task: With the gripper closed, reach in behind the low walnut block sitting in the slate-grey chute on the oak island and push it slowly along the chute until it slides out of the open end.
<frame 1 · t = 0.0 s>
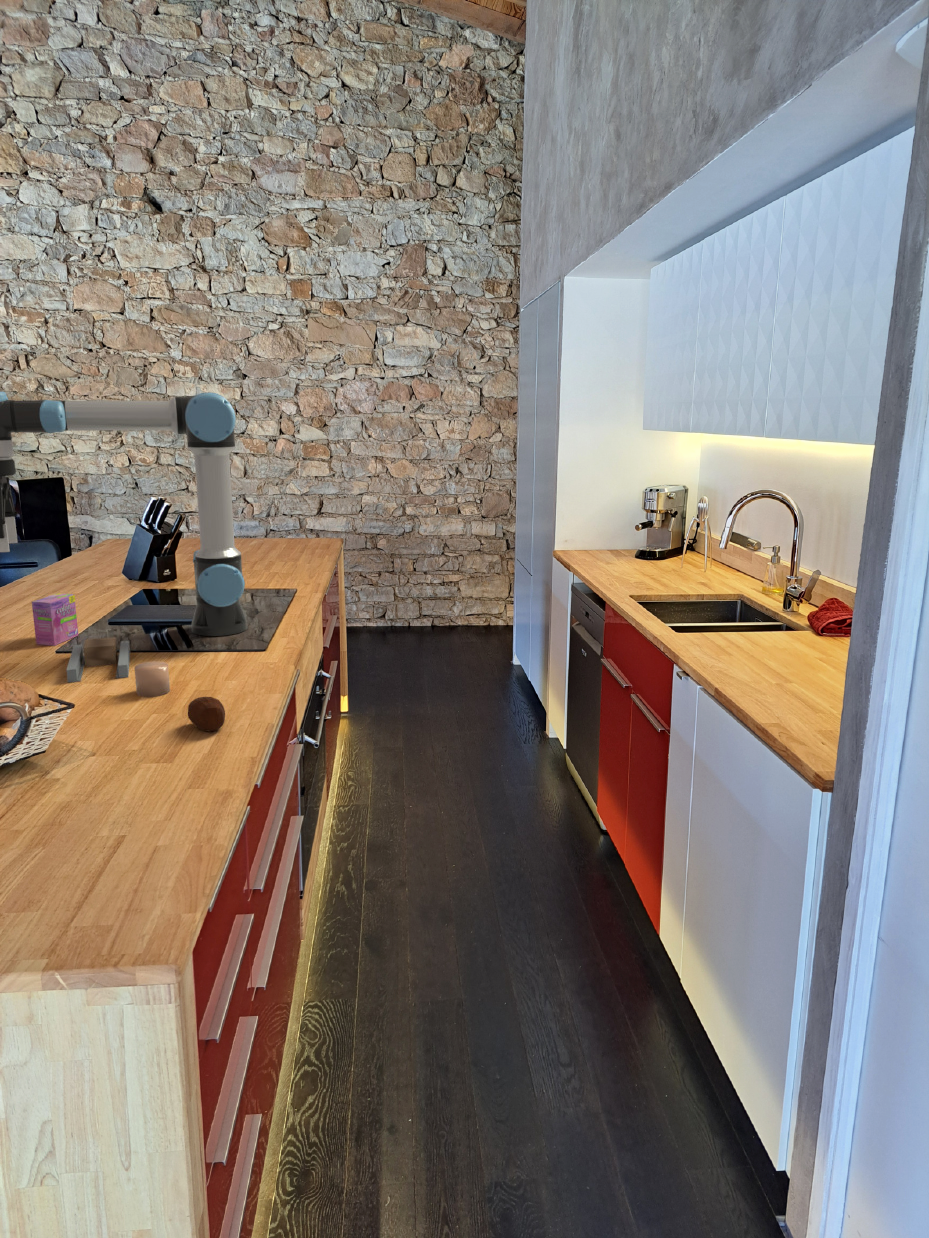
hand: (7, 547, 211), 28 cm above the counter, fingers open, 13 cm apart
marshmallow: (153, 691, 194), on the counter
potato: (207, 728, 173), on the counter
block: (101, 661, 216), on the counter
chute: (100, 666, 212), on the counter
box: (58, 641, 234), on the counter
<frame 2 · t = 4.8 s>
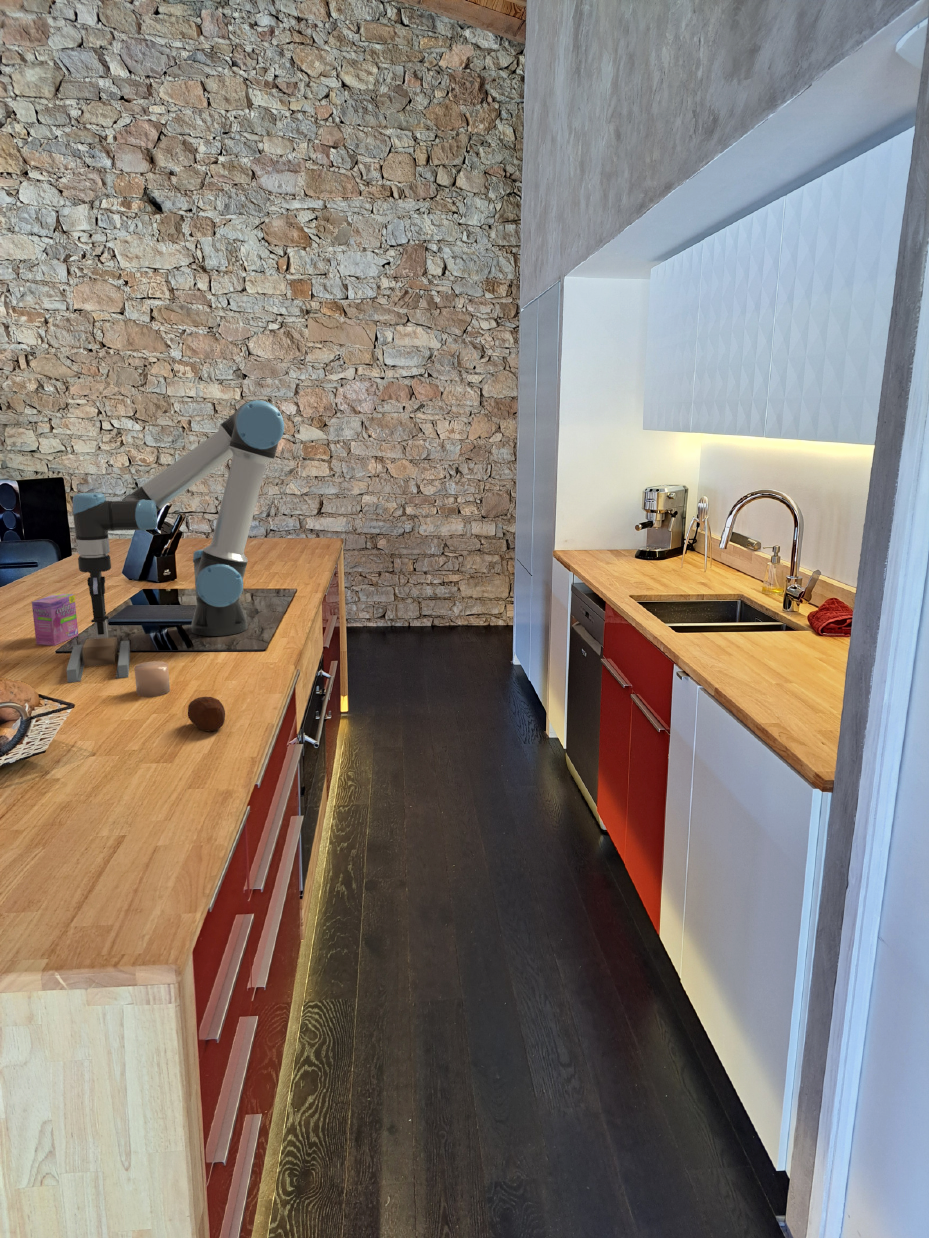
hand: (102, 645, 224), 1 cm above the counter, fingers closed
nothing on the counter moved.
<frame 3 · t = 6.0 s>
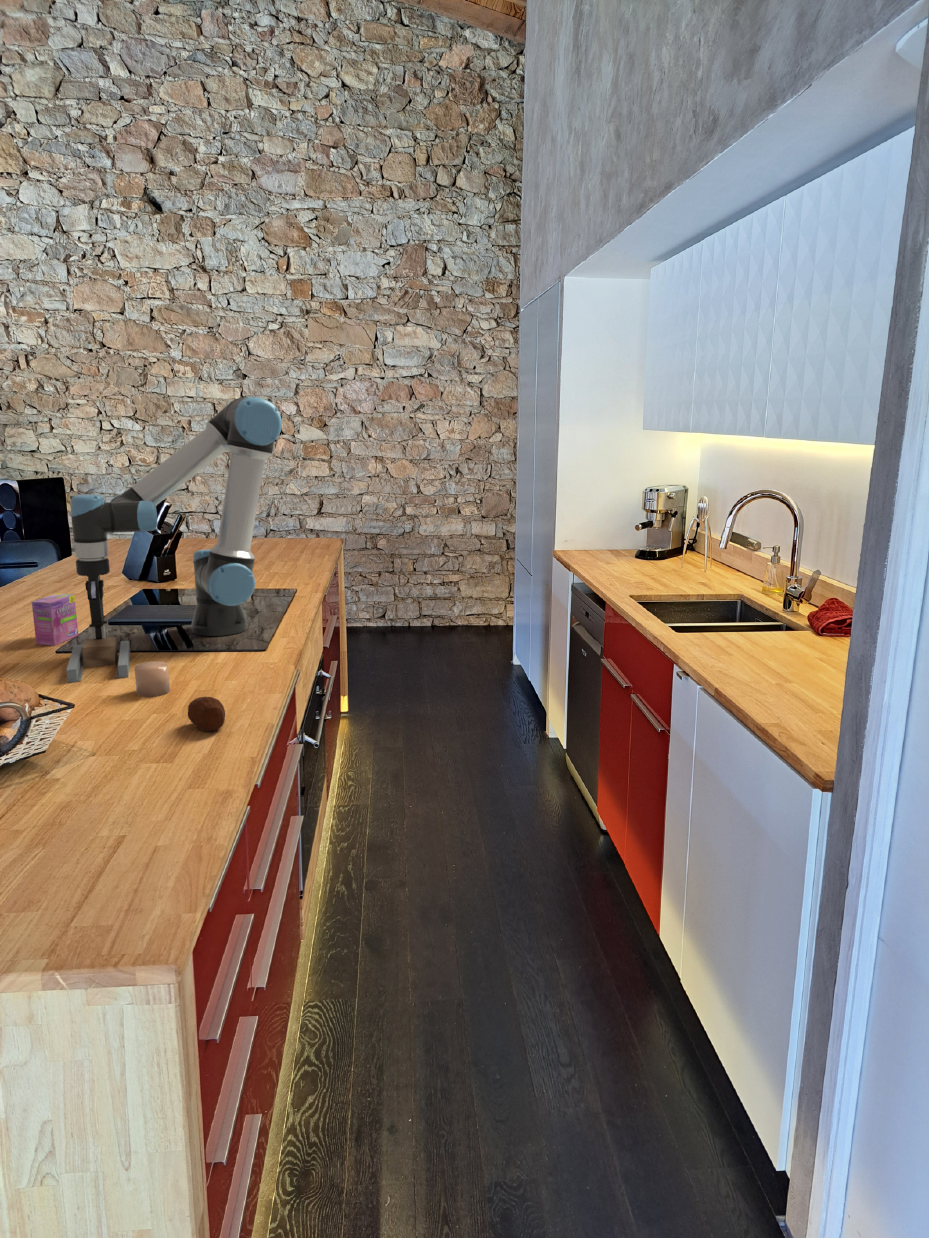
hand: (100, 650, 219), 2 cm above the counter, fingers closed
block: (101, 661, 216), on the counter, touching gripper
everything else where it was.
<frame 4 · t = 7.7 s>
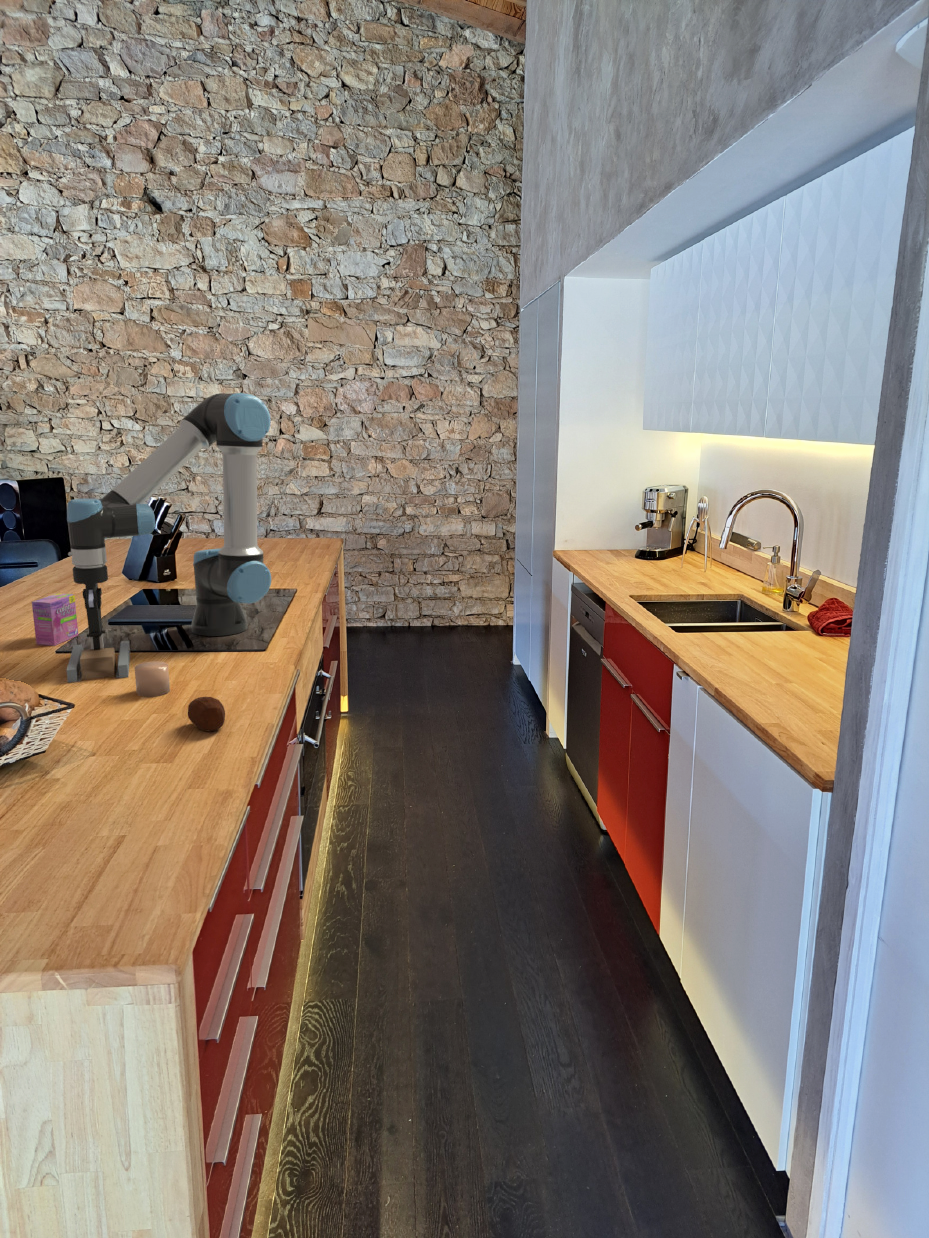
hand: (98, 661, 210), 2 cm above the counter, fingers closed
block: (99, 673, 207), on the counter, touching gripper
everything else where it was.
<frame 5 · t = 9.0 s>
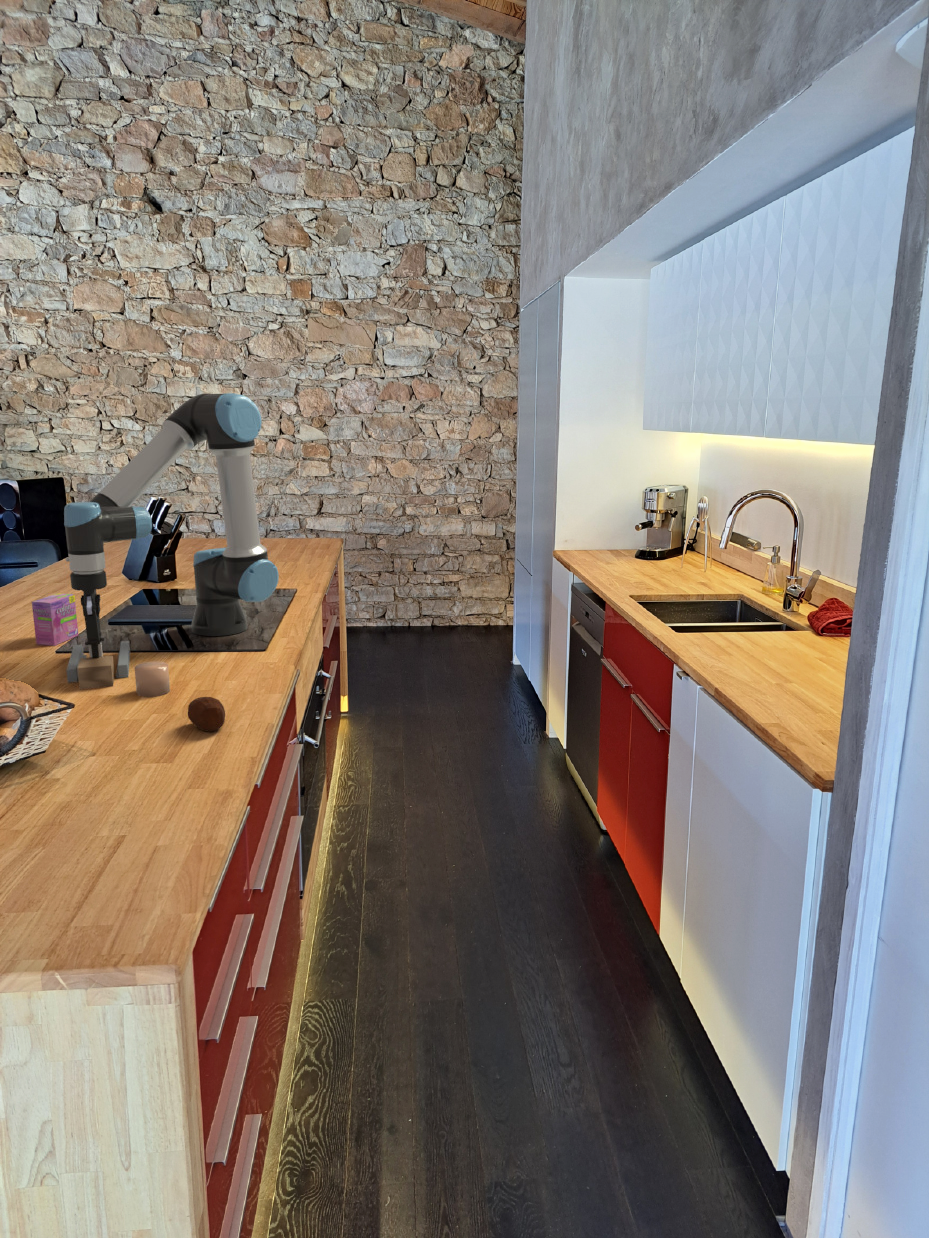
hand: (97, 669, 204), 2 cm above the counter, fingers closed
block: (97, 682, 200), on the counter, touching gripper
everything else where it was.
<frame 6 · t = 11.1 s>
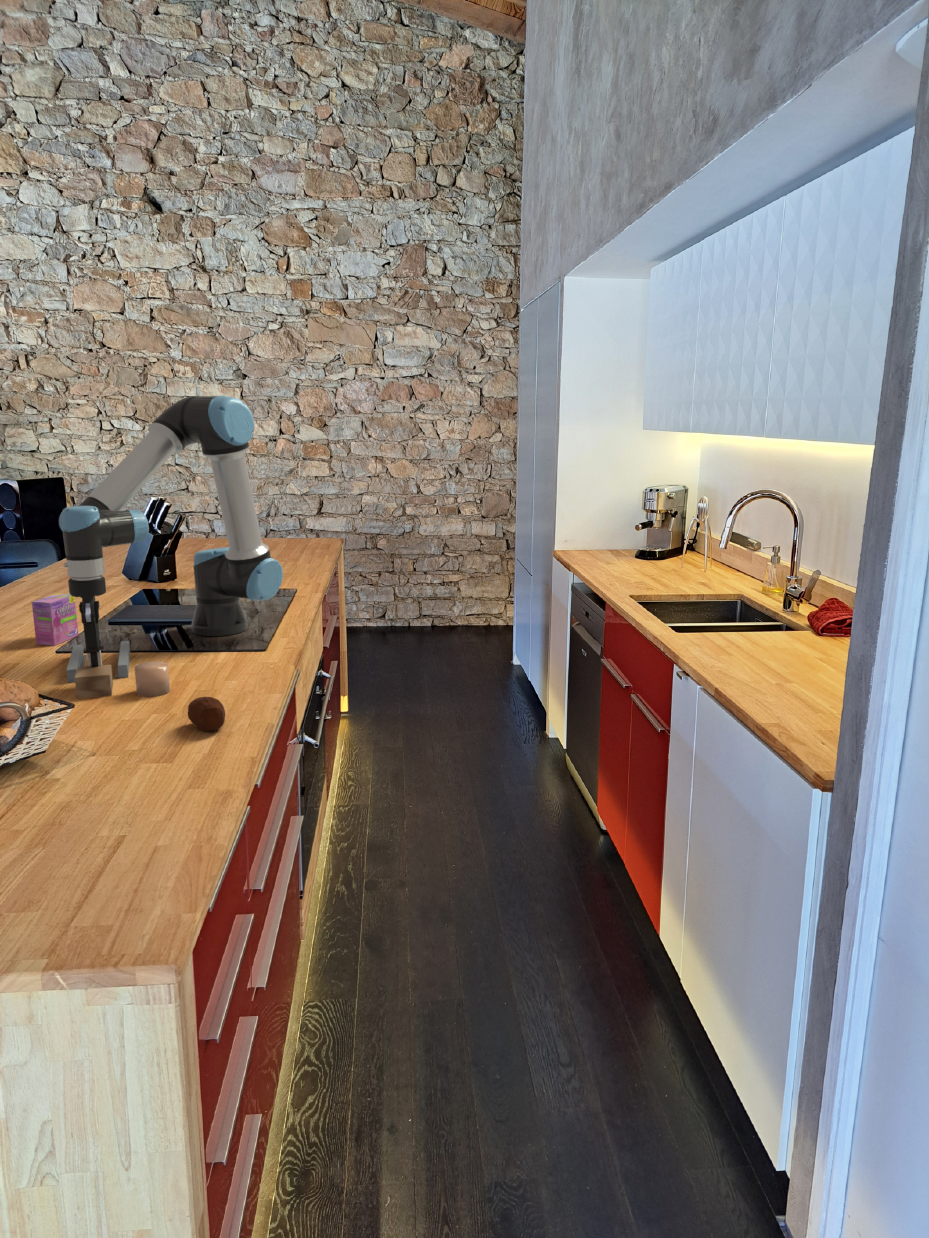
hand: (96, 678, 198), 1 cm above the counter, fingers closed
block: (95, 692, 194), on the counter, touching gripper
everything else where it was.
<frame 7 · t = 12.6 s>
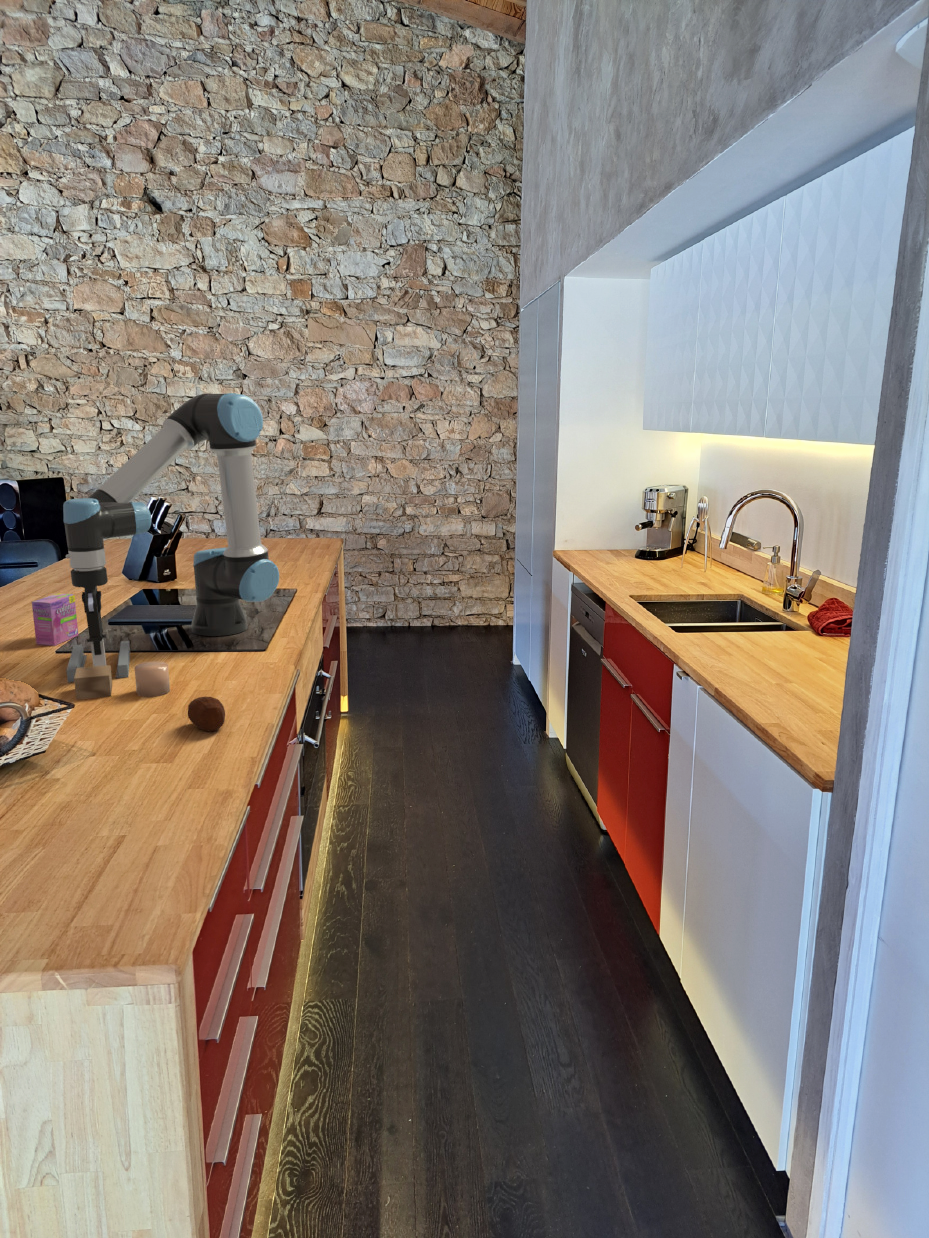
hand: (99, 666, 203), 2 cm above the counter, fingers closed
block: (94, 693, 193), on the counter
everything else where it was.
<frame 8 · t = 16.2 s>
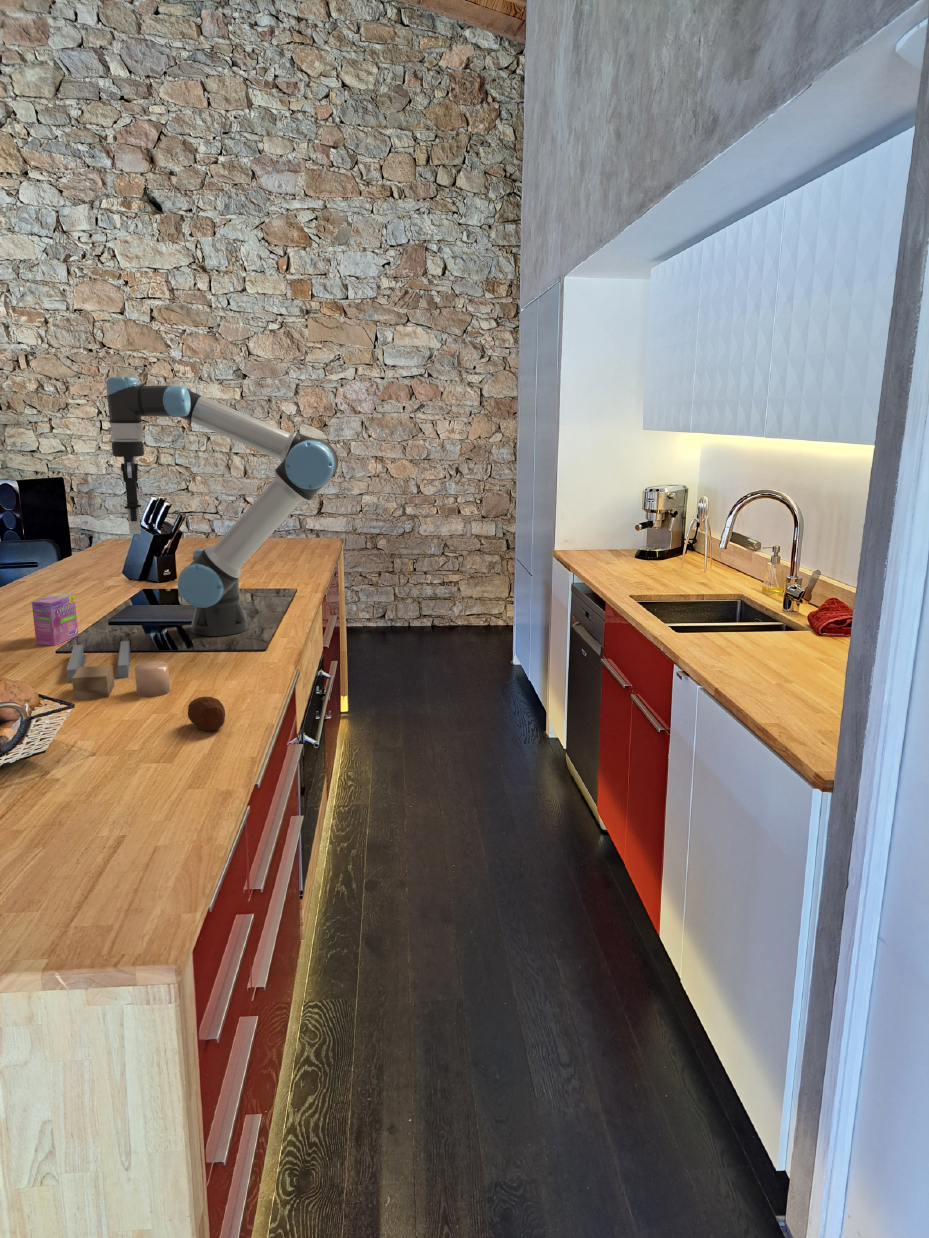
hand: (135, 533, 225), 29 cm above the counter, fingers closed
nothing on the counter moved.
at the end: block inside the target area (4.9 cm from its centre), on the counter; block moved 25.1 cm from its start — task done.
